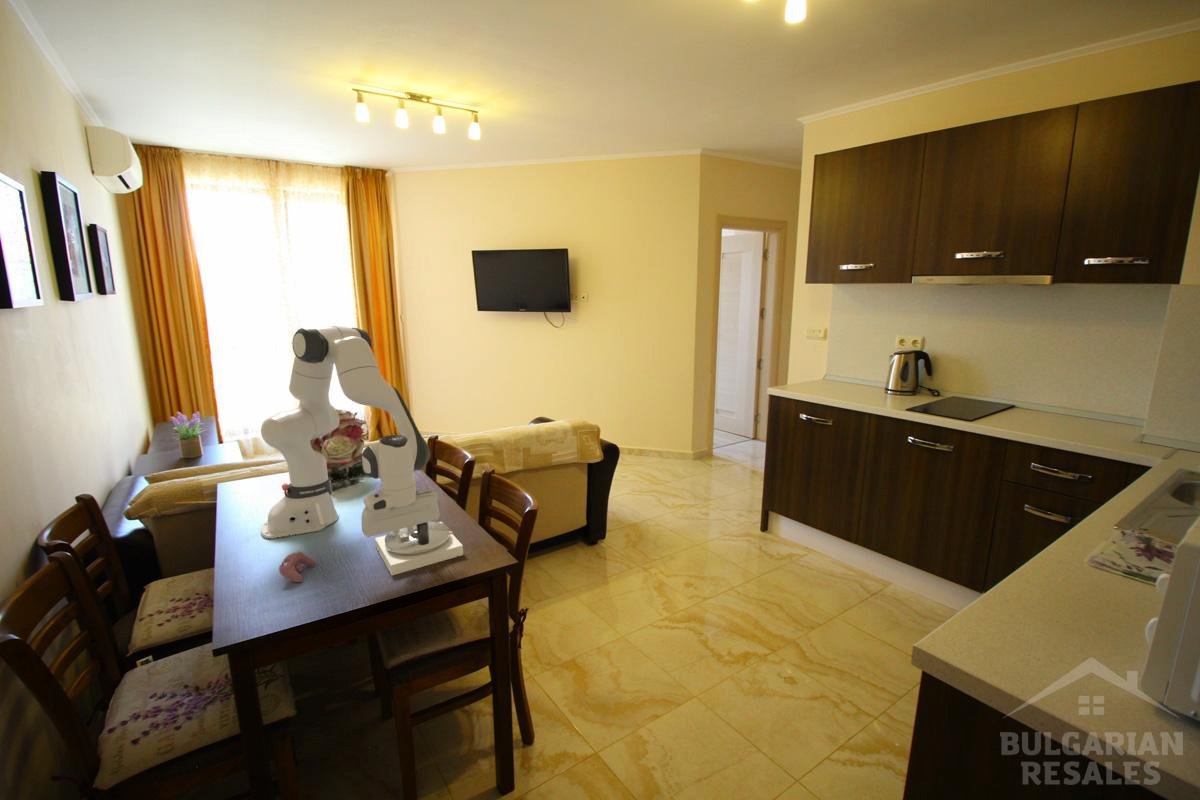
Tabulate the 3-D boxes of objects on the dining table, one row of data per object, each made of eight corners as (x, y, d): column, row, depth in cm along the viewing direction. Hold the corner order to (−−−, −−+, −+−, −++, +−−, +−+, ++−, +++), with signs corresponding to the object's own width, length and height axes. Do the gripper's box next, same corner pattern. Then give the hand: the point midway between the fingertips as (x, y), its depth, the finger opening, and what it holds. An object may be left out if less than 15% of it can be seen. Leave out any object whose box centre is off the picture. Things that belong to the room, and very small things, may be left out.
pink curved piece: (304, 570, 150) (290, 551, 149) (318, 563, 150) (304, 543, 149) (287, 589, 141) (272, 569, 139) (302, 581, 141) (287, 560, 139)
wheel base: (391, 575, 144) (390, 564, 143) (376, 547, 160) (374, 537, 160) (464, 554, 155) (463, 544, 154) (442, 530, 171) (441, 520, 171)
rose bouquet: (291, 482, 218) (281, 410, 212) (364, 465, 237) (357, 399, 231) (310, 498, 199) (299, 421, 193) (387, 479, 219) (380, 408, 213)
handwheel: (379, 537, 159) (376, 512, 158) (438, 522, 169) (436, 498, 168) (393, 561, 145) (390, 534, 143) (458, 544, 154) (456, 518, 153)
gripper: (433, 483, 153) (437, 528, 156) (357, 499, 142) (362, 547, 145) (440, 489, 148) (444, 535, 151) (362, 507, 137) (368, 556, 140)
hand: (403, 541), depth 148 cm, fingers closed
